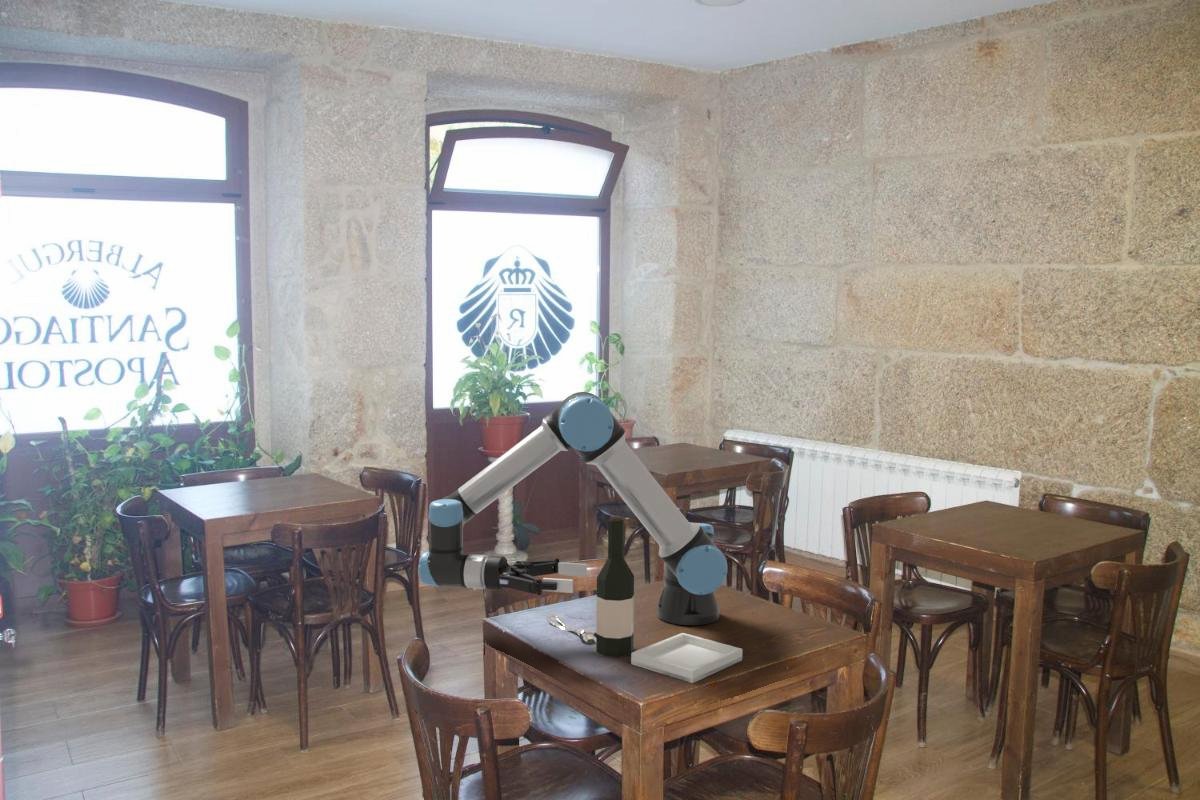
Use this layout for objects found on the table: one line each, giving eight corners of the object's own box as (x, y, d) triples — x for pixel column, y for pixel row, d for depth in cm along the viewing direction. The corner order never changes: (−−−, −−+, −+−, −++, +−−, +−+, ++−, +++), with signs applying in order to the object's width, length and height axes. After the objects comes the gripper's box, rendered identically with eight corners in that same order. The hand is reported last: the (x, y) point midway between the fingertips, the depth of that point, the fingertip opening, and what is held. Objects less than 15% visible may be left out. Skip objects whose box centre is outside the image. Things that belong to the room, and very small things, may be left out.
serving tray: (682, 643, 228) (682, 632, 228) (742, 660, 218) (742, 648, 217) (631, 664, 215) (631, 652, 215) (692, 683, 204) (692, 671, 204)
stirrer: (541, 607, 243) (558, 604, 245) (541, 621, 243) (558, 618, 246) (586, 635, 226) (603, 631, 229) (585, 650, 227) (602, 646, 229)
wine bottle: (588, 652, 222) (589, 517, 219) (609, 642, 229) (610, 511, 226) (620, 660, 217) (621, 522, 214) (641, 649, 224) (642, 515, 221)
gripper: (503, 574, 240) (591, 579, 236) (469, 604, 215) (566, 611, 211) (503, 543, 239) (591, 548, 235) (469, 570, 215) (566, 575, 210)
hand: (580, 577), depth 223 cm, fingers open, 13 cm apart
